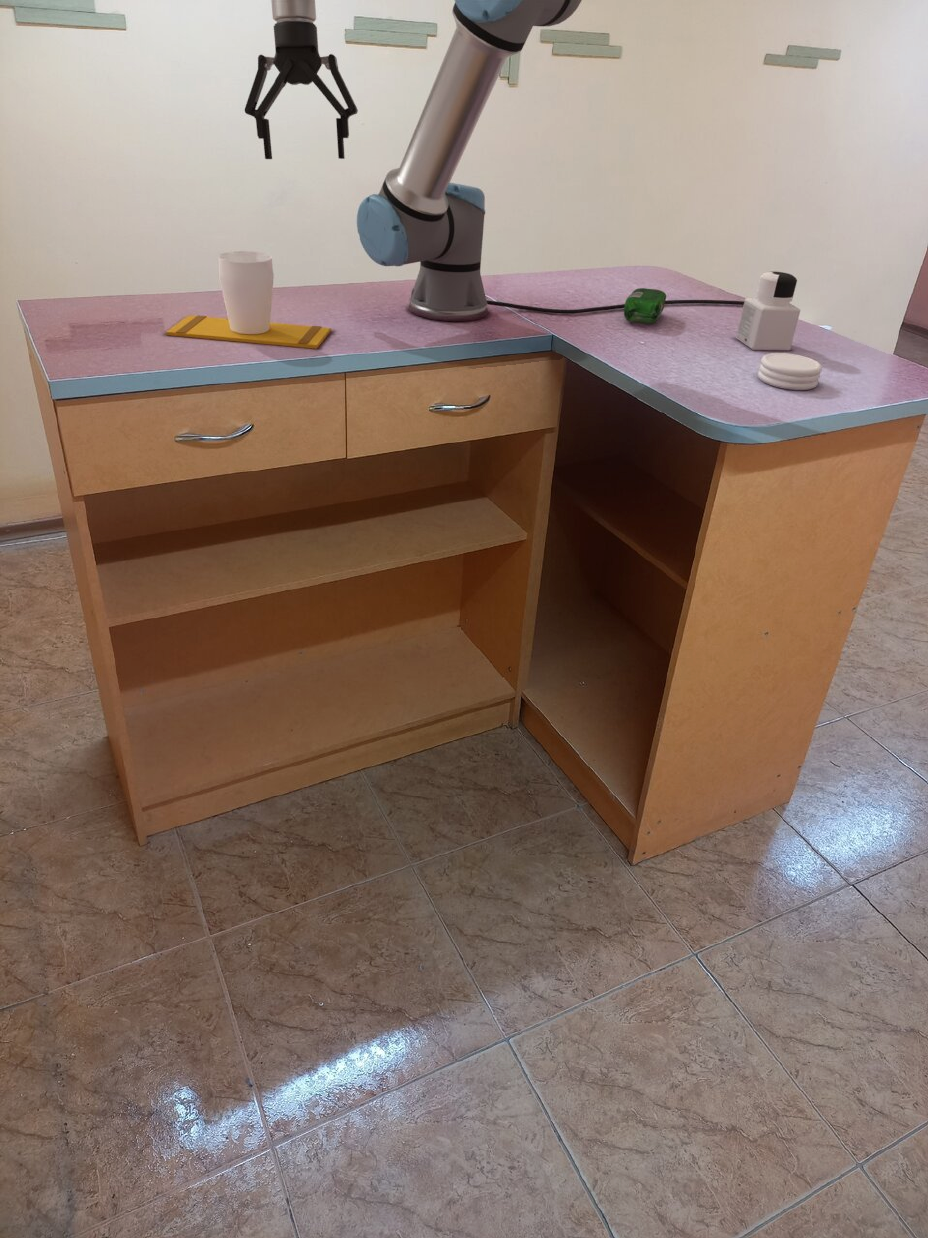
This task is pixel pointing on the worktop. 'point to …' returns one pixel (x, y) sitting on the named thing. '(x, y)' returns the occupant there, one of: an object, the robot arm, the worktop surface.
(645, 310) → the snack package
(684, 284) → the worktop surface
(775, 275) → the container
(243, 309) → the cup
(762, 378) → the coaster
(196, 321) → the towel
